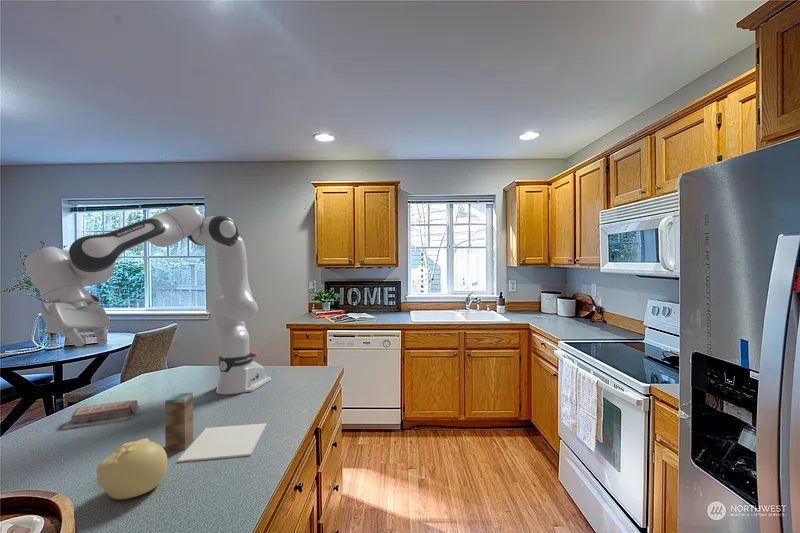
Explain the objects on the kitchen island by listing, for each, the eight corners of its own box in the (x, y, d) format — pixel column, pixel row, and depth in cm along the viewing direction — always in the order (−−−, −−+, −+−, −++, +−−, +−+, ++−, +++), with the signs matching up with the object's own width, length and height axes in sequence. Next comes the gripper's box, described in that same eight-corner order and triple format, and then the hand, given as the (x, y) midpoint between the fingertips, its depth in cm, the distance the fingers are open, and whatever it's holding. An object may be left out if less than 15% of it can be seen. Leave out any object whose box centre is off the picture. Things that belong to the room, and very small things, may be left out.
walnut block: (165, 451, 94) (164, 400, 94) (174, 442, 99) (174, 393, 99) (185, 449, 95) (184, 399, 95) (193, 440, 100) (192, 392, 100)
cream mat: (177, 462, 89) (177, 460, 89) (206, 429, 106) (206, 428, 106) (250, 455, 91) (250, 453, 91) (266, 424, 109) (266, 423, 109)
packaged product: (140, 396, 123) (131, 406, 114) (140, 409, 123) (131, 421, 114) (76, 404, 116) (60, 416, 107) (76, 418, 116) (61, 431, 107)
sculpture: (130, 474, 84) (129, 430, 84) (178, 474, 83) (177, 430, 83) (86, 507, 72) (85, 456, 72) (141, 507, 72) (140, 456, 72)
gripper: (52, 292, 86) (79, 339, 86) (102, 298, 106) (125, 336, 105) (24, 305, 84) (52, 353, 84) (80, 309, 104) (103, 348, 104)
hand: (93, 344), depth 95 cm, fingers open, 8 cm apart
